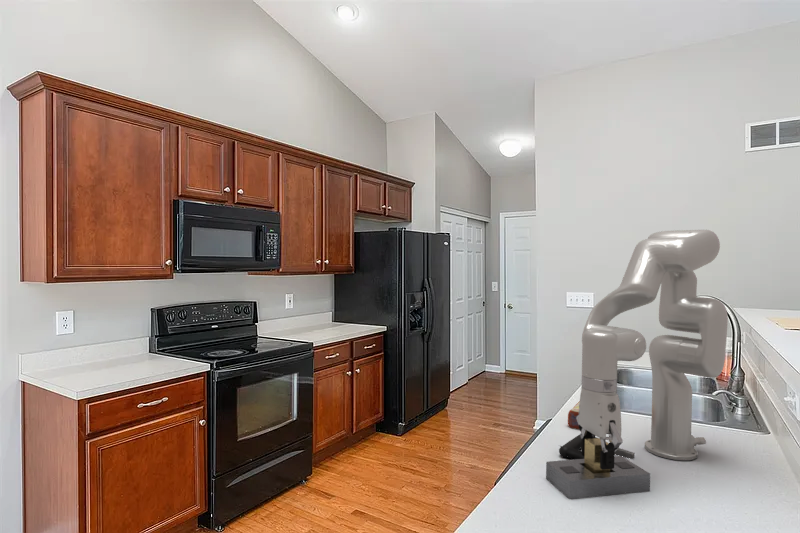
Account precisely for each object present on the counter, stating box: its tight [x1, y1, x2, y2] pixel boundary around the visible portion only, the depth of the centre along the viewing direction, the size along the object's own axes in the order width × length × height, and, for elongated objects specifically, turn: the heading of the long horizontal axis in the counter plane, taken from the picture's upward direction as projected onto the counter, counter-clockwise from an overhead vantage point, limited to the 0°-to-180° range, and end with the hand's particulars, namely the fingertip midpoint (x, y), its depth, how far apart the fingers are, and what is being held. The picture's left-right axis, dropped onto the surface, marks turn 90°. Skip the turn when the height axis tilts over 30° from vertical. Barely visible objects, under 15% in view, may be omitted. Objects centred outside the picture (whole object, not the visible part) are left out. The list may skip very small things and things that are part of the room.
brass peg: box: [584, 437, 610, 474], centre depth 111 cm, size 4×4×10 cm
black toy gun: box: [558, 434, 636, 460], centre depth 130 cm, size 3×20×16 cm
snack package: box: [567, 400, 580, 431], centre depth 157 cm, size 21×7×7 cm, turn 146°
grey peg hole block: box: [545, 455, 651, 500], centre depth 111 cm, size 20×10×4 cm, turn 102°
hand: (597, 461), depth 111 cm, fingers open, 6 cm apart
